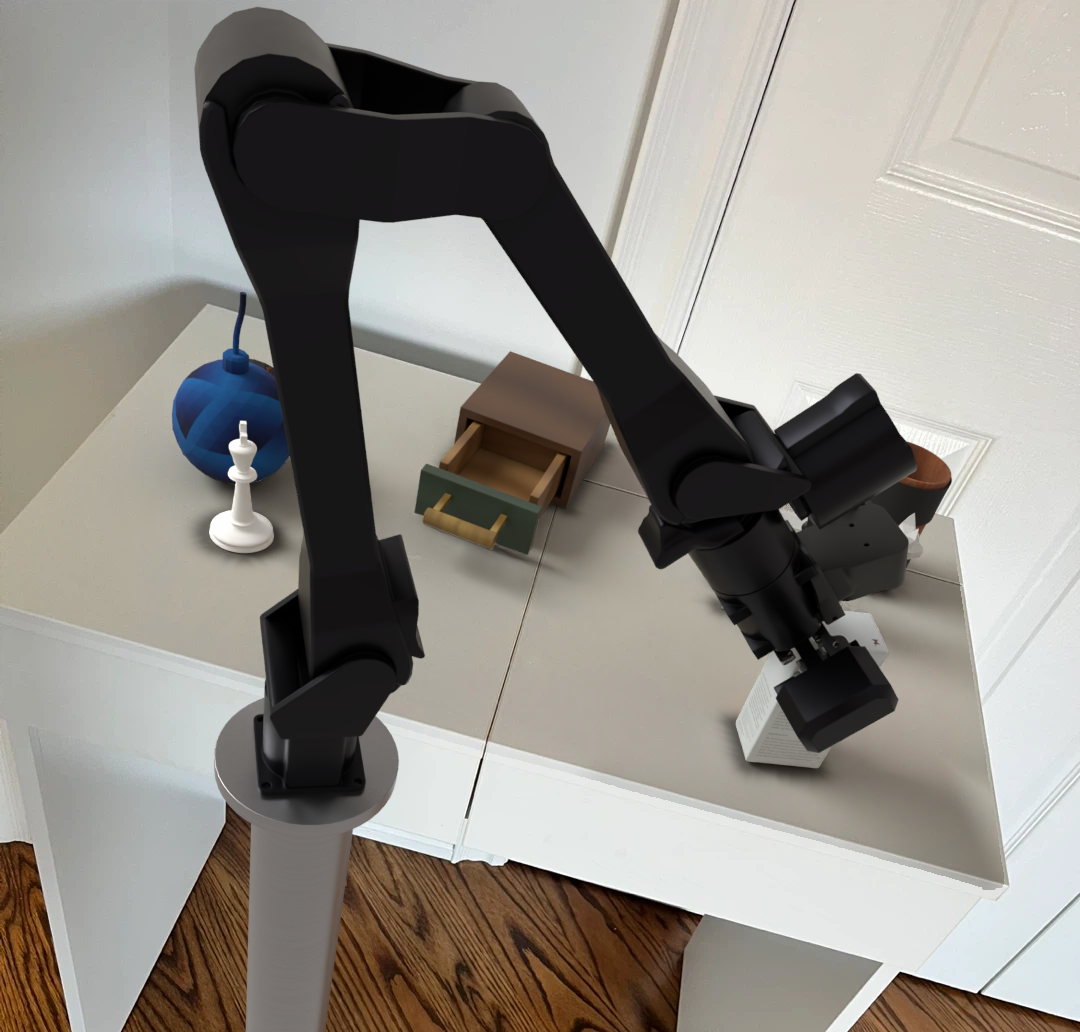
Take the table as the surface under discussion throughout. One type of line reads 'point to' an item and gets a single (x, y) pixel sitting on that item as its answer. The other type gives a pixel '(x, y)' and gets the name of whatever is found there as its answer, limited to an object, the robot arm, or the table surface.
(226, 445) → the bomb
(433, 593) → the table surface
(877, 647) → the cosmetic box
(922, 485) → the mug
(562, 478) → the drawer
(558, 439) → the cabinet
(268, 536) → the chess piece
